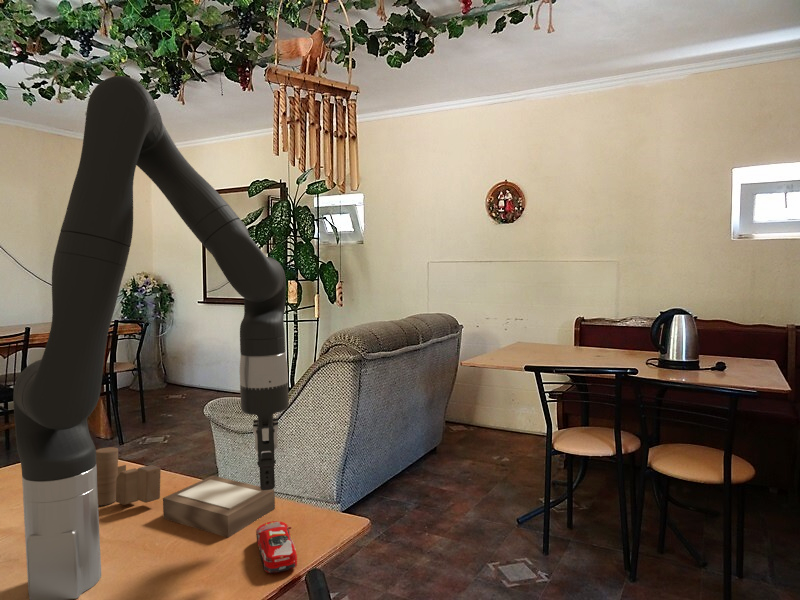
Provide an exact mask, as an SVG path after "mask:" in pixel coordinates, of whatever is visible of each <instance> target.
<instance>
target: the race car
mask: <svg viewBox="0 0 800 600" xmlns="http://www.w3.org/2000/svg"><path fill="white" fill-rule="evenodd" d="M291 529H292V526H289V525H288V524H287V523H286V522H284V521H278V520H274V521H268V522H265V523H263V524H261V525H259V526H258V527H257V529H255V533H256V534H255V536H256V543H257V546H258V551H259V555H260V560H261V562H262V567H263V568H262V569H263V570H264V571H265V572H266V573H269V574H277V573H280V572H284V571H288V570H293V569H294V568H297V566H298V553H297V549H296V546H295V543H294V540H293V537H292V534H291V531H290V530H291Z"/></svg>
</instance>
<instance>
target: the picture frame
mask: <svg viewBox="0 0 800 600" xmlns="http://www.w3.org/2000/svg"><path fill="white" fill-rule="evenodd" d="M275 494H276V492H275V489H271V490H261V488H260V485H259V486H258V485H254V484H250V483H246V482H242V481H239V480H238V481H237V480H233V479H229V478H224V477H221V476H215V475H211V476H209V477H207V478H204V479H203V480H200V481H198V482H195V483H193V484H191V485H189V486H187V487H184V488H182V489H180V490H178V491H175V492H173V493H171V494H169V495H166V496H164V497H162V508H163V509H162V513H163V520H166V521H171V522H173V523H178V524H180V525H184V526H187V527H192V528H195V529H197V530H202V531H204V532H207V533H211V534H214V535H218V536H221V537H225V538H231V537H232V536H233V535H235V534H237V533H238V532H240V531H241V530H243V529H245V528H247V527H248V526H250V525H251V524H253V523H255V522H256V521H258V520H259V518H260V519H261V518H263V517H264V515H265V516H266V515H268V514H270V513H271V512H273V511H274V510H276V500H275V499H276V497H275ZM262 516H263V517H262ZM257 519H258V520H257ZM254 521H255V522H254Z"/></svg>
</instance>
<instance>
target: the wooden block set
mask: <svg viewBox="0 0 800 600" xmlns="http://www.w3.org/2000/svg"><path fill="white" fill-rule="evenodd" d="M96 467H97V491H98V506H107V505H110V504H113V503H115V502H116V503H119V504H121V505H123V506H126V505H129V504H132V503H135V502H138V501H140V502H142V503H144V504H145V503H146V504H148V503H150V502H153V501H156V500H160V498H161V472H162V469H161V467H160V466H158V465H154V464H149V465H144V466H141V467H138V468H131V469H127V464H124V465H123V464H122V465H119V448H118V447H114V446H113V447H112V446H111V447H103V448H98V449H96Z"/></svg>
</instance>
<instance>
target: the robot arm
mask: <svg viewBox="0 0 800 600" xmlns="http://www.w3.org/2000/svg"><path fill="white" fill-rule="evenodd" d="M86 107H87V108H86V114H85V123H84V131H83V139H82V148H81V152H80V153H81V154H80V159H79V164H78V168H77V171H76V175H75V178H74V180H73V181H74V182H73V184H72V185H73V186H72V188H71V192H70V195H69V200H68V202H67V203H68V204H67V206H66V211H65V215H64V218H63V221H62V224H61V227H60V231H59V235H58V240H57V242H56V247H55V252H54V254H53V260H52V268H51V300H52V301H51V303H52V304H51V305H52V309H51V310H52V312H51V313H52V317H51V318H52V319H51V325H50V329H49V330H50V331H49V334H48V337H47V341H46V345H45V348H44V351H43V355H42V357H41V359H40V360H36V361H34V362H32V363H30V364H29V365H27V366H26V367H25V368H24V369H23V370H22V371H21V372H20V374H18V376H17V379H16V381H15V383H14V386H13V394H12V395H13V396H12V398H13V399H12V400H13V401H12V402H13V417H14V429H15V439H16V440H15V442H16V450H17V454H18V458H19V461H20V466H21V467H20V468H21V481H22V500H23V502H22V503H23V520H24V537H25V540H24V541H25V557H26V558H25V559H26V572H27V573H26V574H27V577H26V578H27V589H28V590H27V591H28V593H27V594H28V599H29V600H73V599H74V600H75V599H78V598H79V597H80V596H81V595H82V594H83V593H85V592H87V591H88V590H90V589H91V588H92V587H94V586H96V584H97V583H98V582H99V581H100V580H101V577H102V561H101V558H102V557H101V542H100V540H101V537H100V516H99V515H100V514H99V505H98V491H97V467H96V450H97V449H96V446H95V443H94V441H93V439H92V435H91V433H90V430H89V425H88V418H89V417H90V416H91V414H92V413H93V412H94V410H95V409H96V407H97V405H98V402H99V399H100V396H101V390H102V383H103V374H104V363H105V356H106V347H107V341H108V336H109V330H110V326H111V324H112V320H113V316H114V312H115V310H116V306H117V302H118V301H117V300H118V297H119V293H120V288H121V284H122V280H123V279H124V278H123V277H124V274H125V271H126V267H127V263H128V258H129V254H130V248H131V245H132V240H133V230H134V178H135V173H136V167H138V168H139V169H140V170H141V171H142V172H143V173H144V174H145V175H146V176H147V177H148V178H149V179H150V181H152V182H153V184H155V186H156V187H157V188H158V189H159V191H160V192H161V193H162V194H163V195H164V196H165V198H166V200H167V201H168V202H169V204H170V205H171V206H172V207H173V210H175V212H176V214H178V215H179V217H180V219H182V221H183V222H184V224H185V225H186V226H187V227H188V229H189V231H191V232H192V233H193V235H194V236H195V237H196V238H197V239H198V241H199V242H200V243H201V244H202V246H203V247H204V248H205V249H206V251H208V253H210V254H211V255H212V256H213V259H214V260H215V263H216V264H217V266H218V267H219V268H220V271H221V272H222V274H223V275H224V277H225V278H226V280H227V281H228V283H229V284H230V285H231V287H232V288H233V289H234V290H235V291H236V293H238V294H239V295H240V297H242V298H243V300H244V301H243V302H244V303H243V307H244V308H243V309H244V311H243V312H244V313H243V317H242V320H241V322H240V326H239V349H240V350H239V351H240V353H239V354H240V359H239V389H240V390H239V391H240V392H239V393H240V410H241V411H242V413H244V414H247V415H255V416H257V419H253V423H252V432H253V433H252V434H253V436H254V452H255V453H256V454H257V460H258V461H257V462H256V465H257V466H258V468H259V483H260V484H259V487H260V488H261V490H271V489H272V490H275V487H276V479H275V466H276V464H277V463H276V461H277V460H276V459H275V458H276V457H275V453H276V452H277V451H278V434H279V417H274V415H275V414H276V413H281V412H284V411H286V410H288V407H290V402H289V400H290V399H289V373H288V371H289V368H288V360H287V355H286V353H287V352H286V334H285V333H286V331H285V323H284V321H285V320H284V319H285V311H286V310H285V309H286V299H287V297H286V295H287V280H286V279H287V278H286V273H285V270H284V268H283V266H282V265H281V263H280V262H279V261H277V260H276V259H274V258H273V257H270V256H267V255H266V254H265V253H264V252H263V251H262V250H261V249H260V248H259V246H258V245H257V243H256V242H255V241H254V239H252V237H251V236H250V233H249V230H248V228H247V226H246V224H245V222H243V220H242V219H241V218H240V216H238V214H237V213H236V212H235V211H234V209H232V207H231V205H230V204H228V202H227V201H226V200H225V199H224V197H222V195H221V194H220V192H218V191H217V190H216V189H215V188H214V187H213V186H212V185H211V184H210V183H209V181H207V180H206V179H205V178H204V177H203V176H202V175H200V173H199V172H198V171H196V170H195V168H194V167H193V166H192V165H191V164H190V163H189V162H188V160H187V159H186V157H184V155H183V153H181V151H180V149H179V148H178V147H177V145H176V143H175V142H174V140H173V138H172V136H171V135H170V134H169V132H168V130H167V129H166V126H165V125H164V123H163V120H162V115H161V114H160V111H159V109H158V107H157V104H156V103H155V100H154V98H153V97H152V95H151V93H150V92H149V91H148V90H147V88H145V87H144V85H142V84H141V83H140V82H139V81H137V80H136V79H134V78H132V77H129V76H125V75H124V76H123V75H116V76H115V75H114V76H110V77H108V78H106V79H104V80H102V81H101V82H99V84H97V85H96V86H95V87H94V89H93V90H92V92H91V94H90V95H89V98H88V101H87V106H86Z"/></svg>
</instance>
